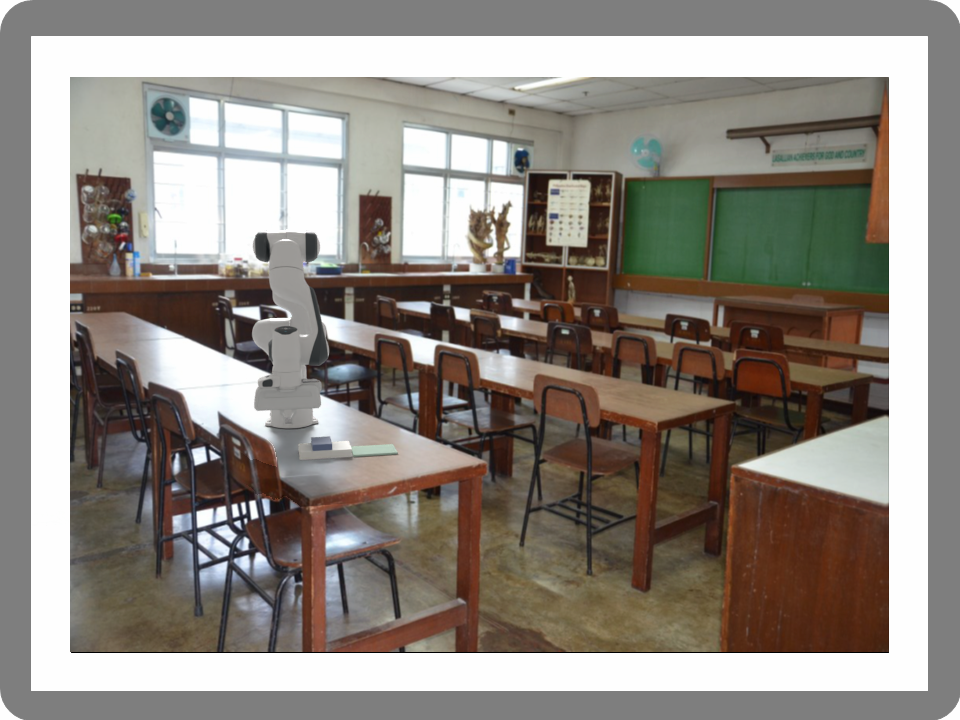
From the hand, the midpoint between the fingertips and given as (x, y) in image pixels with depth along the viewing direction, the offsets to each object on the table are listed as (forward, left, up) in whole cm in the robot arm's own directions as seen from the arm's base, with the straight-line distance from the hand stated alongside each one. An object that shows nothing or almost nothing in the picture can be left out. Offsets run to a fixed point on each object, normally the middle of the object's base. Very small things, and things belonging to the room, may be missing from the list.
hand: (288, 423), depth 244 cm
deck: (-1, +11, -11) cm, 15 cm away
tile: (-1, +10, -8) cm, 13 cm away
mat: (-1, +27, -11) cm, 29 cm away
